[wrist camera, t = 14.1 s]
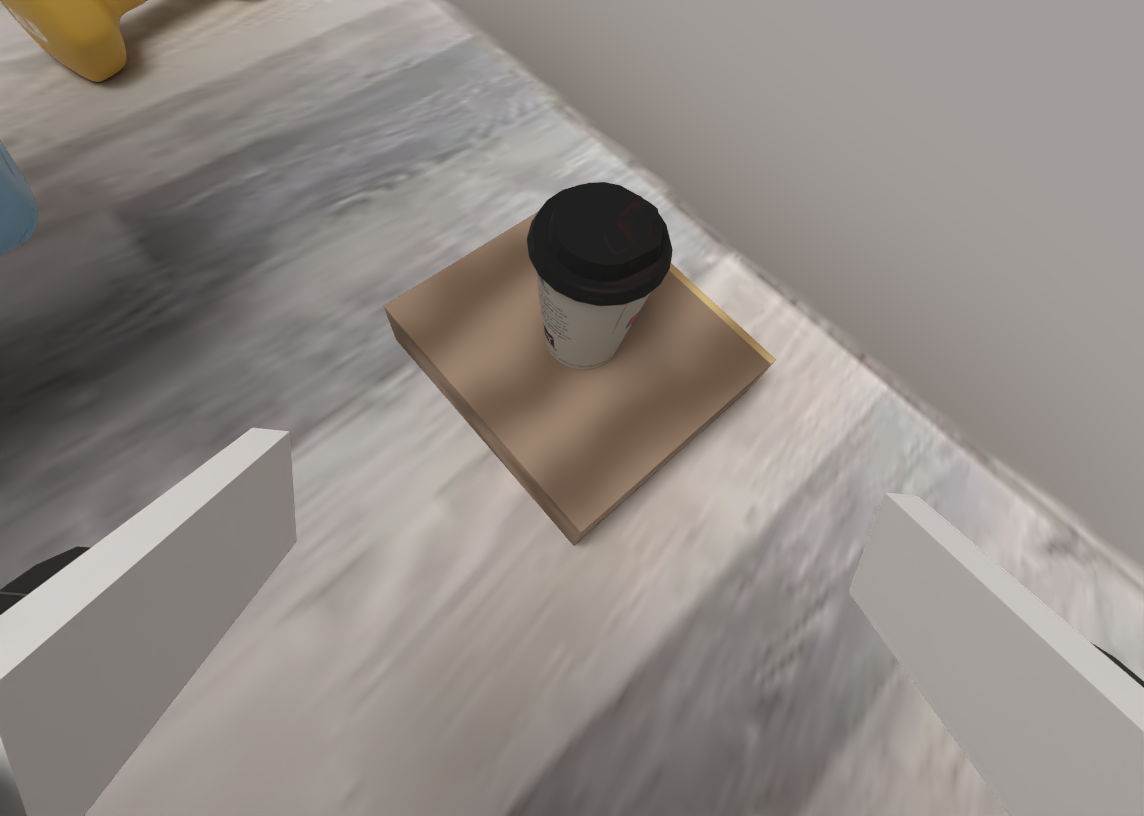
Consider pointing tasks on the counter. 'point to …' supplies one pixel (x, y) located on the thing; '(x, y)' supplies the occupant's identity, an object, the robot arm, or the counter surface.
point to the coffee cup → (595, 268)
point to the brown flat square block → (573, 378)
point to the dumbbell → (77, 32)
